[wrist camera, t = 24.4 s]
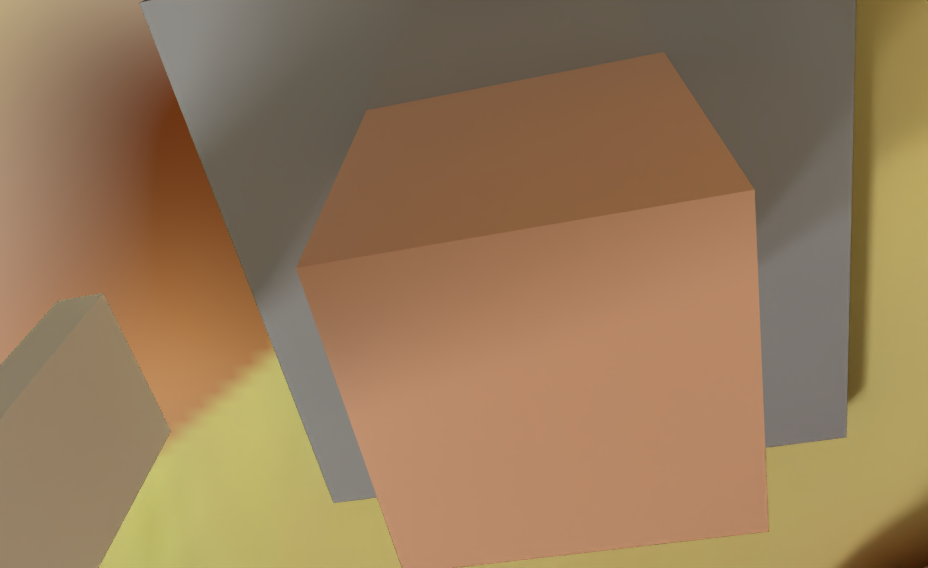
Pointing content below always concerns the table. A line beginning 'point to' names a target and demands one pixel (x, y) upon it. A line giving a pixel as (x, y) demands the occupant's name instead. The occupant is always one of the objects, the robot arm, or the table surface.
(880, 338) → the table surface
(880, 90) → the table surface
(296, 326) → the slate tile
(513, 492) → the tan block
